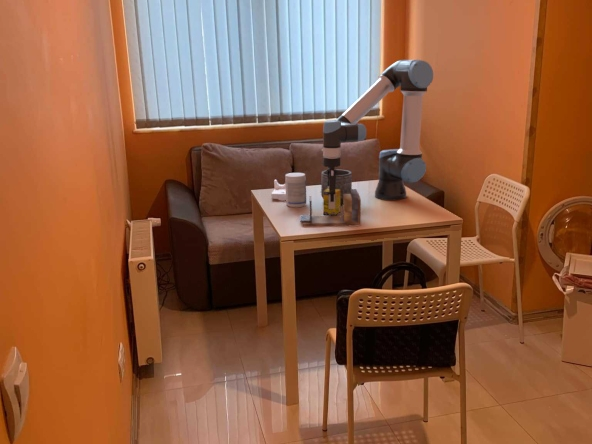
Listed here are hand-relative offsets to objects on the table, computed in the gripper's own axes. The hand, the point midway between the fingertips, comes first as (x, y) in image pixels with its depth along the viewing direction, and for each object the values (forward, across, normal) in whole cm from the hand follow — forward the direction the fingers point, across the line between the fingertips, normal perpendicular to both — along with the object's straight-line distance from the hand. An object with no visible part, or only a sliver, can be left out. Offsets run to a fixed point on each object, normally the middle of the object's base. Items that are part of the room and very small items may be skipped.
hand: (331, 204), depth 260 cm
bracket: (+5, -32, -24) cm, 40 cm away
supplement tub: (+5, -16, -16) cm, 23 cm away
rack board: (+4, +12, -1) cm, 13 cm away
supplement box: (+5, 0, 0) cm, 5 cm away
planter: (+4, -18, +3) cm, 19 cm away
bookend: (+3, +12, -11) cm, 17 cm away
